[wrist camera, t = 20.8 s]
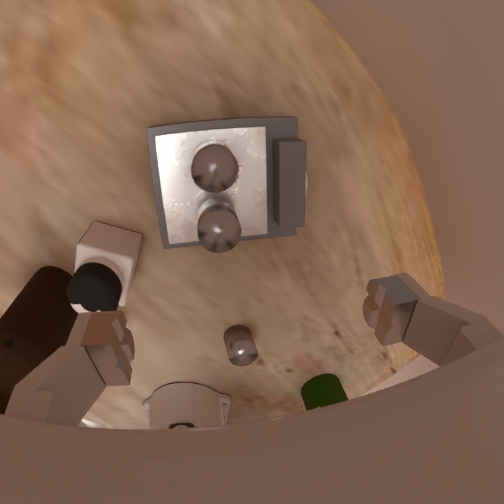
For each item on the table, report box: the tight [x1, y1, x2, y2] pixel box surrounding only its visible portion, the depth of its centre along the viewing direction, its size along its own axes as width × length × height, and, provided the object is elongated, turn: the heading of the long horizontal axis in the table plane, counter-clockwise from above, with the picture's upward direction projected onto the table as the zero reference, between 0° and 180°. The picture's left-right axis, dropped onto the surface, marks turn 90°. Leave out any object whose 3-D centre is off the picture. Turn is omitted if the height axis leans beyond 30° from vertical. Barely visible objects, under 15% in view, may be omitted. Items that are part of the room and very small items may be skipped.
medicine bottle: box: [67, 222, 142, 314], centre depth 33 cm, size 7×7×12 cm
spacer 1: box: [191, 141, 239, 193], centre depth 30 cm, size 4×4×5 cm
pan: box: [155, 126, 267, 244], centre depth 34 cm, size 13×12×1 cm
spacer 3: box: [224, 325, 258, 366], centre depth 46 cm, size 4×4×5 cm
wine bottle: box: [301, 374, 348, 411], centre depth 46 cm, size 9×9×32 cm
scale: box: [147, 117, 308, 249], centre depth 34 cm, size 15×18×6 cm
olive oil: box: [0, 267, 79, 415], centre depth 28 cm, size 11×11×25 cm
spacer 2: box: [197, 198, 242, 253], centre depth 33 cm, size 4×4×5 cm
